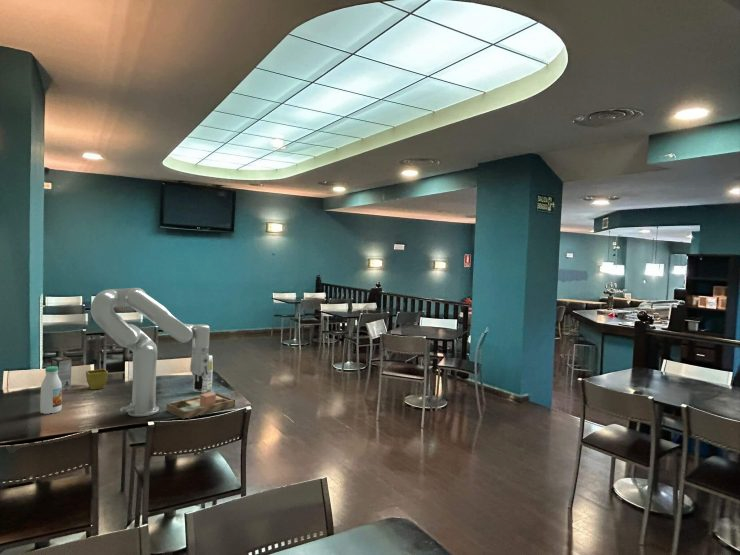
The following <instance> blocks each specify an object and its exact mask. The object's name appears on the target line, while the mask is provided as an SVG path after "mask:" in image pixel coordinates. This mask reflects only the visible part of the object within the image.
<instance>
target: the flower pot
mask: <svg viewBox="0 0 740 555" xmlns="http://www.w3.org/2000/svg"><path fill="white" fill-rule="evenodd" d="M108 375H109V371H108V370H106V369H104V368H101V369H91V370H86V371H85V377H86V382H87V384H88V387H89V388H90V389H91V390H93V389H94V390H97V389H103V388H105V386H106V383H107V380H108Z"/></svg>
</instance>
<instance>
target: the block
mask: <svg viewBox="0 0 740 555" xmlns="http://www.w3.org/2000/svg"><path fill="white" fill-rule="evenodd" d="M213 393H214V392H213ZM213 393H212V392H211V391H208V392H206V393H201V394H199V396H200V405H201V406H203V407H204V406H208V405H212V404H215V403H216V394H213Z"/></svg>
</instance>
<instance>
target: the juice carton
mask: <svg viewBox="0 0 740 555" xmlns="http://www.w3.org/2000/svg"><path fill="white" fill-rule="evenodd" d="M213 360H214V359H213V355H210V354H209V362H210V372H209V374H208V375H207V374H206V378H204V379H203V384H202V389H197V390H196V389H194V385H195V381H196V380H194V375H193V374H192V375H193V379H192V380H193V381H192V387H193V388H192V390H193V392H194V393H200V392H201V394H205V393H209V392H211V391H212V388H213V370H214V369H213V366H214V364H213V362H214V361H213Z"/></svg>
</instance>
